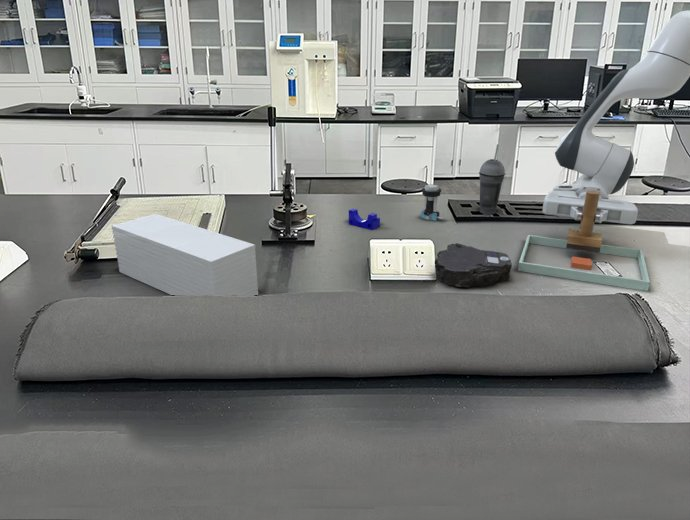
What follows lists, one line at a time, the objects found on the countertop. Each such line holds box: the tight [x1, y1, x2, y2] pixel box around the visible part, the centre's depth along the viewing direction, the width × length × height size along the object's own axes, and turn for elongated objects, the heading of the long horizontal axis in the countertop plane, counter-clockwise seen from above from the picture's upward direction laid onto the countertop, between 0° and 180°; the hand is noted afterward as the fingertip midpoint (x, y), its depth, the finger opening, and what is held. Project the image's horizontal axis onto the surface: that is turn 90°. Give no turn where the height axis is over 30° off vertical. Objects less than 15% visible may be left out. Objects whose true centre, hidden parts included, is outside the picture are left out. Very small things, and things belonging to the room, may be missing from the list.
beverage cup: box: [478, 143, 506, 215], centre depth 153 cm, size 7×7×20 cm
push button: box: [420, 183, 444, 222], centre depth 147 cm, size 7×5×10 cm
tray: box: [517, 234, 651, 292], centre depth 119 cm, size 25×19×3 cm
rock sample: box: [434, 242, 513, 289], centre depth 114 cm, size 18×16×5 cm
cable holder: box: [348, 208, 381, 231], centre depth 145 cm, size 8×4×4 cm, turn 53°
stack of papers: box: [111, 213, 259, 296], centre depth 109 cm, size 32×11×11 cm, turn 53°
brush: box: [565, 191, 603, 254], centre depth 120 cm, size 7×5×13 cm
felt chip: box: [570, 256, 593, 271], centre depth 118 cm, size 4×4×1 cm
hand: (588, 218), depth 119 cm, fingers closed on brush, 3 cm apart
